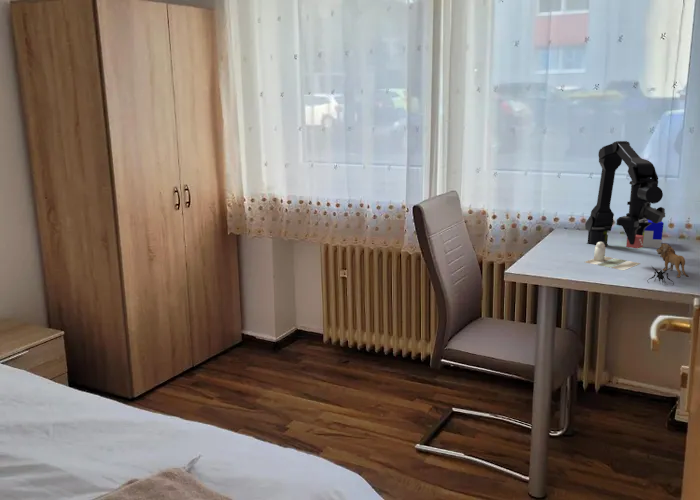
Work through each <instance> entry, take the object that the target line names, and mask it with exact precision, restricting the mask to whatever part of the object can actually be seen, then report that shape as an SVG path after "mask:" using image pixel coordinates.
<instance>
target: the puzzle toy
mask: <svg viewBox="0 0 700 500" xmlns="http://www.w3.org/2000/svg"><path fill="white" fill-rule="evenodd" d="M648 222H650V223H652V224H650V225H649V226H647V227H646V229H645V231H644V233H643V236H644V238H643V247H642V248H654V249H655V248H656V249H659V248H660V247H661V244H662V241H663V233H664V222H663V220H662V221H661V222H659V223H653V222H652V221H650V220H648Z"/></svg>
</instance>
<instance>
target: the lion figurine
mask: <svg viewBox="0 0 700 500" xmlns="http://www.w3.org/2000/svg"><path fill="white" fill-rule="evenodd" d="M655 251H656V253H657V255H658V256H659V255H660V257H661V258H662V261H664V266H665V268H663V269H662V272H664V271H666V270H667V269H669V268H670V269H669V270H667V271H673V270H674V266H675V270H676V271H677V273H678V274H677V275H676V278H680V277H681V276H685V278H690V276H689V275H688V274H686V272H685V265H686V259H685V257H684V256H683V255H679V254H677V253H676V251H675V249H674V248H673V247H672V246H671V245H670V244H667V243H661V247H660V248H656V250H655ZM669 264H670V266H669ZM667 271H666V272H667Z"/></svg>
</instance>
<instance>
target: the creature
mask: <svg viewBox="0 0 700 500" xmlns="http://www.w3.org/2000/svg"><path fill="white" fill-rule="evenodd" d="M650 267H652V269H653V270H654V275H653V276H652V277H649V278H648V280H647V283H649V280H652V279H653V278H654V281H656V280H657V278H658V281H659V282H661V281H662V283H661V285H664V282H665V283H666V284H668V283H667V281H666V278H667V280H668V281H670V282H672V283H673V285H674V284H675V283H674V281H673V280H671V279H670V277H669V275H668V274H669V272H667V271H670V270H669V269H670V267H668V269H667V270H666V271H663V269H660V270H659V271H658V270H657V269H656V268H655V267H653V266H652V265H650ZM665 273H666V278H665V276H664V274H665ZM656 274H657V275H656ZM673 285H672V286H673Z"/></svg>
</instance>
